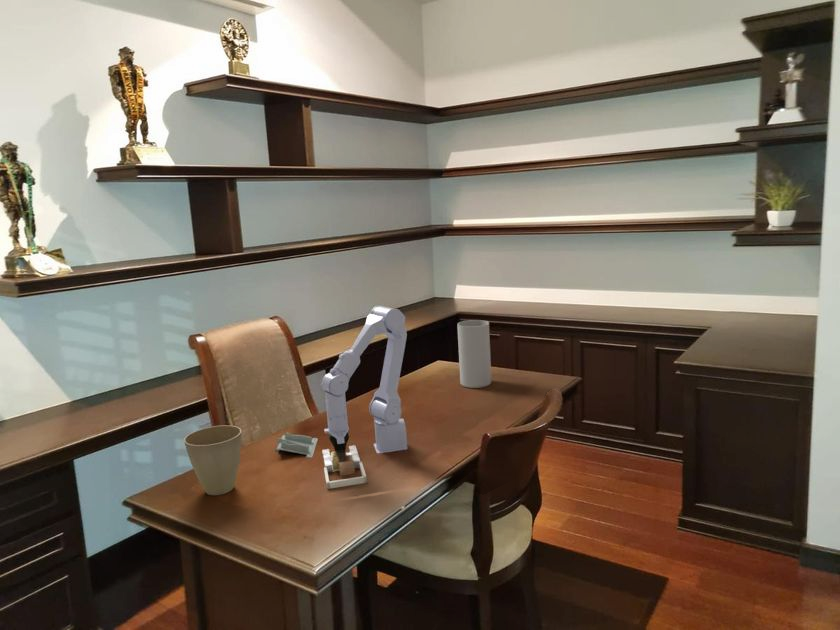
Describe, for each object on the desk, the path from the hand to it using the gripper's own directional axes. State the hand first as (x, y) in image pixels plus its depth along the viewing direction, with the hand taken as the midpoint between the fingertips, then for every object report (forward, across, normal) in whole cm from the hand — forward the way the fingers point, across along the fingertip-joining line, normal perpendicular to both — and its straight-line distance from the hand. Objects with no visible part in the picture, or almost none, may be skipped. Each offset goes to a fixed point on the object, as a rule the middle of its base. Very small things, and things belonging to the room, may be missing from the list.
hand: (340, 457), depth 183 cm
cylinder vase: (+2, -58, +60) cm, 84 cm away
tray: (+2, +11, 0) cm, 11 cm away
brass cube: (+1, +3, -1) cm, 4 cm away
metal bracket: (+3, -15, -12) cm, 19 cm away
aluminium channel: (+2, 0, 0) cm, 2 cm away
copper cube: (+1, +7, +1) cm, 7 cm away
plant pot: (+2, +5, -34) cm, 34 cm away
